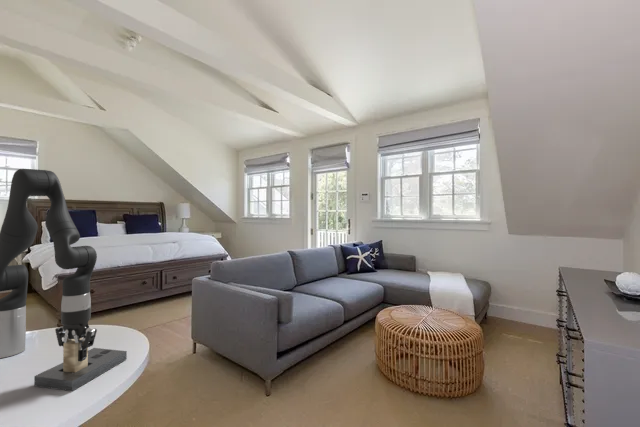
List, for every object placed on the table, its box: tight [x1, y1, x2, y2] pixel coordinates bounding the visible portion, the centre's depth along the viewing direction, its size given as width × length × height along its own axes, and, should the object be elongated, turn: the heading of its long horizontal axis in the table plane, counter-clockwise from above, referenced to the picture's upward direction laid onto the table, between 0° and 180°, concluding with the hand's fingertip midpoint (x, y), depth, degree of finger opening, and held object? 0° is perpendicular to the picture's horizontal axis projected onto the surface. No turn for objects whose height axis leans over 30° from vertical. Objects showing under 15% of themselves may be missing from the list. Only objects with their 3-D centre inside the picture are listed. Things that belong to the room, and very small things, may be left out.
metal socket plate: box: [33, 347, 128, 392], centre depth 101 cm, size 14×20×3 cm
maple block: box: [62, 338, 89, 373], centre depth 98 cm, size 4×4×9 cm
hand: (75, 359), depth 98 cm, fingers closed on maple block, 4 cm apart
